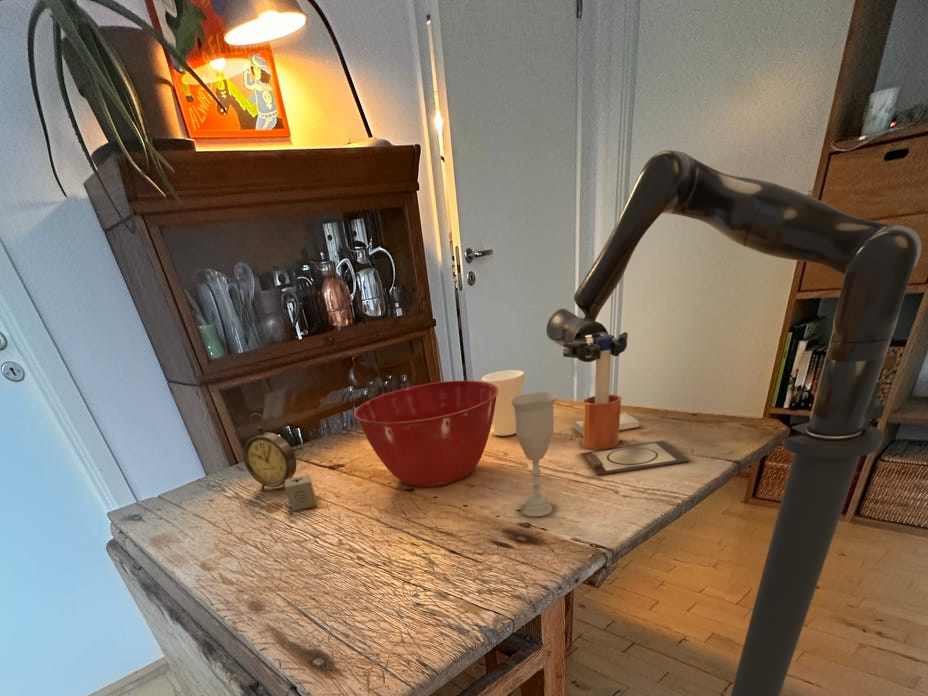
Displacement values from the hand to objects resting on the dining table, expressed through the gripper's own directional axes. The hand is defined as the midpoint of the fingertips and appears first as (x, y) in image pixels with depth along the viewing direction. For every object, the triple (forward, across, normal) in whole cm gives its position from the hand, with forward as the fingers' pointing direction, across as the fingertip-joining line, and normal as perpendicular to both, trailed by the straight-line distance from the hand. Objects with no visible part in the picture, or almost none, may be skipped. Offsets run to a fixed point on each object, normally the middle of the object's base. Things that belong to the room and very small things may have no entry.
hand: (608, 351), depth 99 cm
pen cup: (-3, 0, +18) cm, 18 cm away
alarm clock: (-6, -72, +18) cm, 75 cm away
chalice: (+27, -19, +18) cm, 38 cm away
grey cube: (+7, -64, +18) cm, 67 cm away
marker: (-3, 0, +11) cm, 11 cm away
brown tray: (+9, +3, +18) cm, 20 cm away
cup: (-21, -18, +18) cm, 33 cm away
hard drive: (-13, +4, +18) cm, 23 cm away
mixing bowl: (+2, -36, +18) cm, 40 cm away
